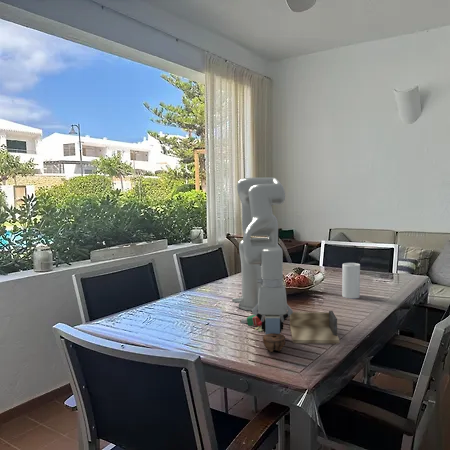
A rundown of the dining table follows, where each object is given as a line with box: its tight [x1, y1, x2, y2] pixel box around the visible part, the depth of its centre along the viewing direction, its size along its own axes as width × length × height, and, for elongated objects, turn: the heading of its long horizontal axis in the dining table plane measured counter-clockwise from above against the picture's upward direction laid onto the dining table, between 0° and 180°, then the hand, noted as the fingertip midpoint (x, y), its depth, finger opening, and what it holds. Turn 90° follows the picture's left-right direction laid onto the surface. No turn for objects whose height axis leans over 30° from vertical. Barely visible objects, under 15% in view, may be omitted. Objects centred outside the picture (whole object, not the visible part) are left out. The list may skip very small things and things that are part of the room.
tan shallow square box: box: [289, 310, 340, 345], centre depth 157 cm, size 16×16×7 cm
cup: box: [341, 262, 361, 300], centre depth 208 cm, size 8×8×16 cm
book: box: [264, 315, 281, 335], centre depth 153 cm, size 5×9×8 cm, turn 175°
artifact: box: [262, 333, 286, 353], centre depth 143 cm, size 8×8×5 cm
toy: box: [239, 314, 264, 333], centre depth 170 cm, size 15×4×15 cm
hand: (272, 330), depth 154 cm, fingers closed on book, 5 cm apart
